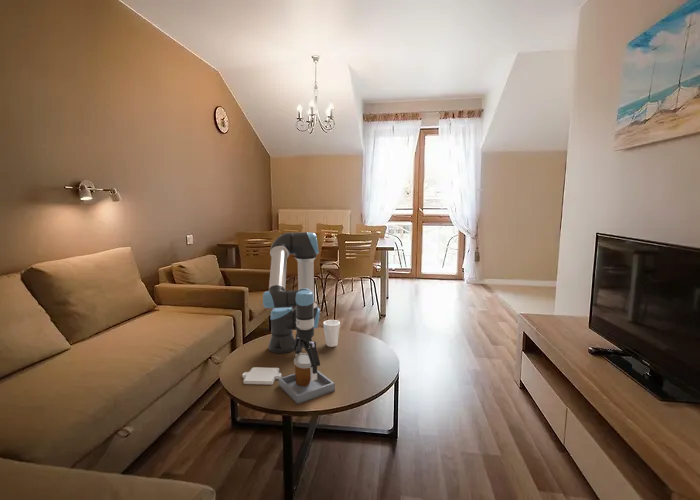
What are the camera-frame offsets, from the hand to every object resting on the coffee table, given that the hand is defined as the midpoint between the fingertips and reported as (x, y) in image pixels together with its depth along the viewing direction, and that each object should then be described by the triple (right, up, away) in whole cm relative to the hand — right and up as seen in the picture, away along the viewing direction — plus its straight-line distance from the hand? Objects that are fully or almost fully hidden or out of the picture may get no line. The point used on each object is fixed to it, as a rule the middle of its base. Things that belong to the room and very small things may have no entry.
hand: (306, 373), depth 159 cm
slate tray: (0, -7, +1) cm, 7 cm away
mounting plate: (-22, -6, +11) cm, 25 cm away
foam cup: (+9, 0, +48) cm, 49 cm away
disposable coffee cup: (-2, -5, +4) cm, 7 cm away
